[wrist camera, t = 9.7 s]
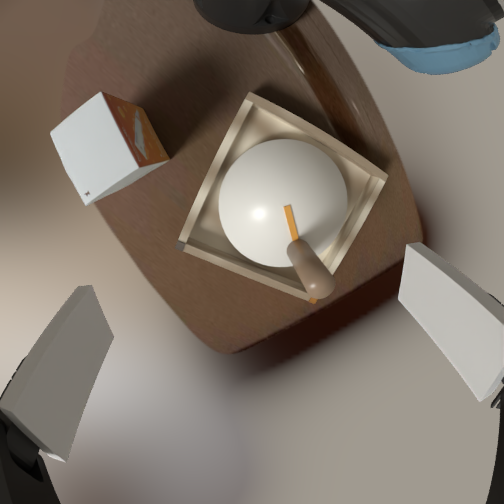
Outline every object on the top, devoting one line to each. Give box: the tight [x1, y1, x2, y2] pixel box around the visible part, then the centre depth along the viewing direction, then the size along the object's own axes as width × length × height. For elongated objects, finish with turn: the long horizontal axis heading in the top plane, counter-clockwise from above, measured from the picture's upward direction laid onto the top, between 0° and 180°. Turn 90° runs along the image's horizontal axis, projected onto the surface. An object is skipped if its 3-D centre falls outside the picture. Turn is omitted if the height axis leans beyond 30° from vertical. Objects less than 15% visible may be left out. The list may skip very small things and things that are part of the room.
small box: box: [50, 91, 170, 206], centre depth 24 cm, size 8×6×13 cm
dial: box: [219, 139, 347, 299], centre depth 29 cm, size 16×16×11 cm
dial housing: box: [175, 92, 388, 304], centre depth 33 cm, size 20×20×4 cm
